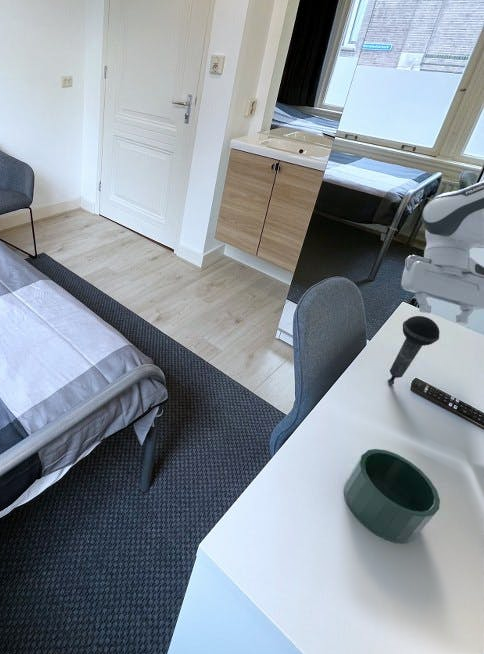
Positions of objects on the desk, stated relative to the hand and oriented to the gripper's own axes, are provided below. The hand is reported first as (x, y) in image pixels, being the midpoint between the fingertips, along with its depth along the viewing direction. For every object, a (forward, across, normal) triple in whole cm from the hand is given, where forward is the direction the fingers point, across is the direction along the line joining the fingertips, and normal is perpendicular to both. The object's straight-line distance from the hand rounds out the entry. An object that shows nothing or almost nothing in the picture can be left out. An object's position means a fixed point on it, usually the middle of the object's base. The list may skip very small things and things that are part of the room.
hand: (443, 317), depth 102 cm
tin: (+43, -26, -17) cm, 52 cm away
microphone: (+18, -8, +5) cm, 21 cm away
